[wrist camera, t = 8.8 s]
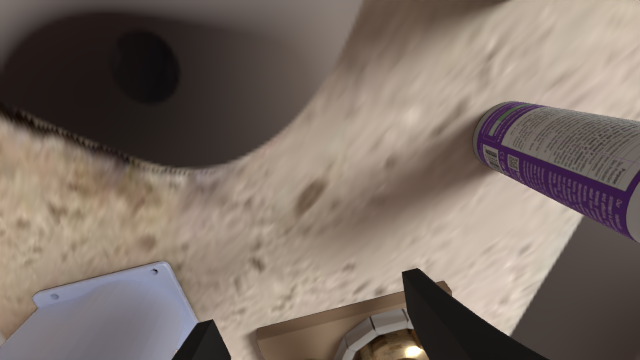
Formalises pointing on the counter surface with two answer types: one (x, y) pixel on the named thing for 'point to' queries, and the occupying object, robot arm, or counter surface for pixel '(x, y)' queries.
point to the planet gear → (394, 347)
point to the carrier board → (336, 330)
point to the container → (568, 159)
